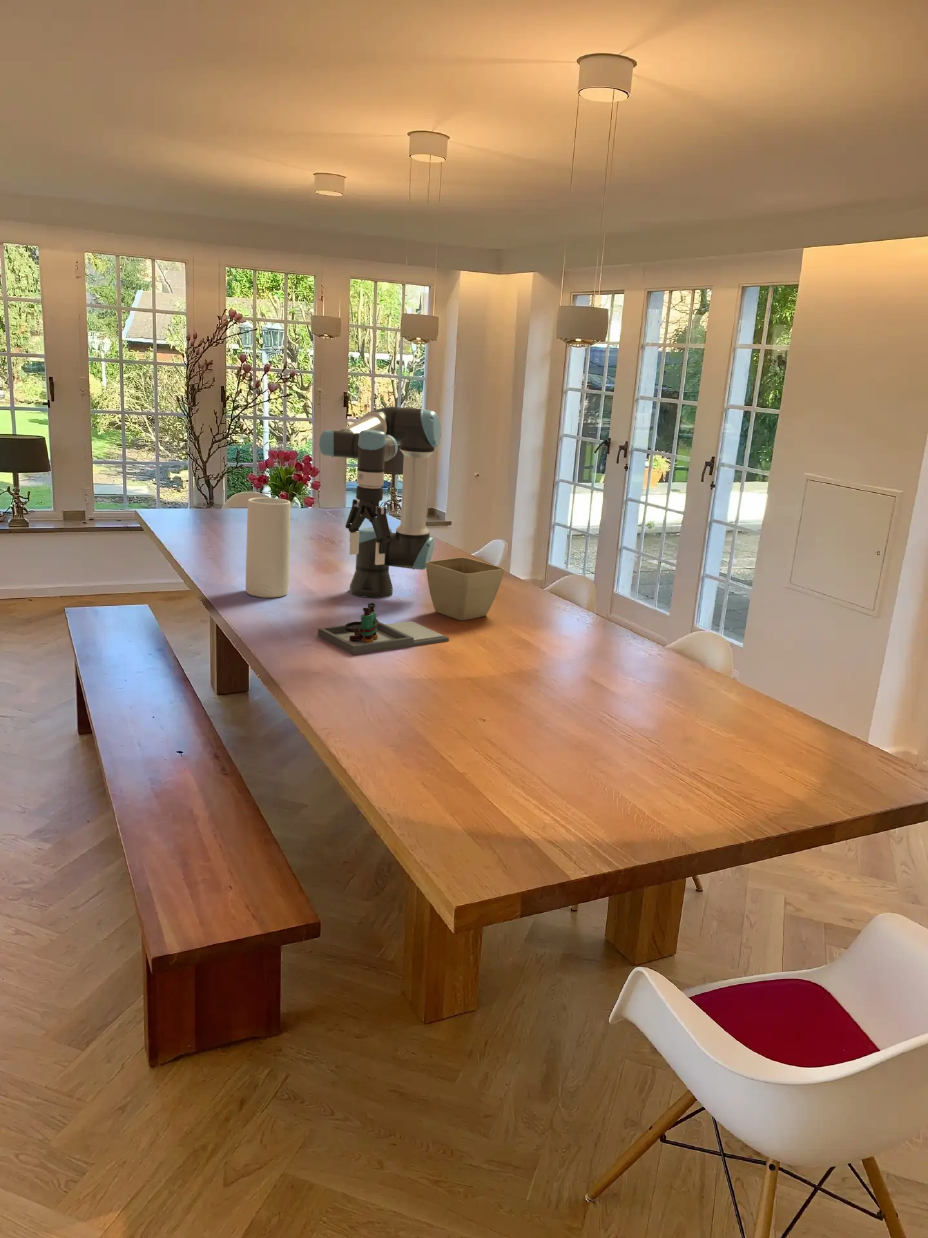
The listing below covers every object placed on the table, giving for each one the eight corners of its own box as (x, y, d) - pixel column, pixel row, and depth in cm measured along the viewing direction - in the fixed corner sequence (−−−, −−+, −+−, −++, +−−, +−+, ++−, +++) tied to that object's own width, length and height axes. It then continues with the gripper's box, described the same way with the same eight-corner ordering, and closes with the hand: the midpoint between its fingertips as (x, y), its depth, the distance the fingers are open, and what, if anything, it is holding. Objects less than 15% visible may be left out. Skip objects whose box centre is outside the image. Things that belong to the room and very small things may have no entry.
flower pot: (501, 617, 302) (506, 567, 298) (462, 625, 289) (466, 573, 284) (460, 604, 315) (464, 556, 310) (420, 611, 301) (424, 561, 297)
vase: (296, 592, 312) (299, 500, 304) (274, 600, 299) (277, 505, 290) (259, 586, 316) (261, 495, 308) (237, 594, 303) (238, 500, 295)
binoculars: (348, 601, 266) (381, 601, 264) (350, 635, 269) (383, 636, 267) (338, 608, 258) (372, 609, 256) (340, 643, 260) (374, 645, 258)
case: (411, 624, 285) (411, 616, 284) (448, 640, 271) (449, 632, 270) (317, 636, 264) (318, 628, 264) (353, 655, 250) (353, 646, 249)
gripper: (335, 479, 264) (333, 550, 270) (383, 493, 245) (379, 570, 251) (357, 478, 268) (354, 549, 274) (406, 492, 250) (401, 567, 256)
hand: (366, 559), depth 263 cm, fingers open, 13 cm apart
